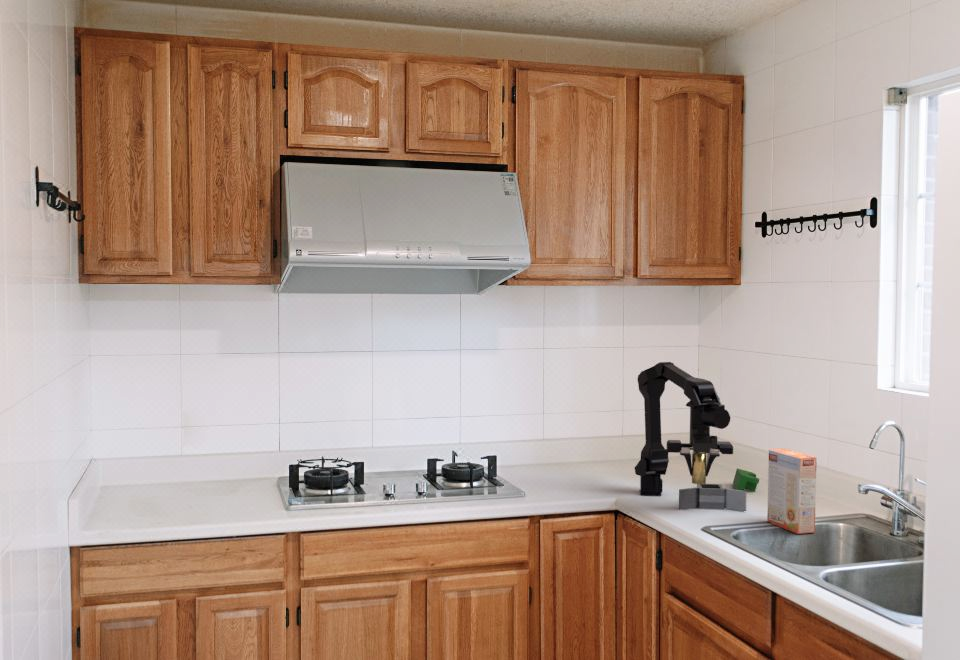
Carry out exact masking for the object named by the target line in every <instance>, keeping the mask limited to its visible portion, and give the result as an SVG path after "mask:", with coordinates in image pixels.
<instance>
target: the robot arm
mask: <svg viewBox="0 0 960 660" xmlns="http://www.w3.org/2000/svg"><path fill="white" fill-rule="evenodd" d="M669 381H670V382H671V383H673V384H675V385H676V386H677V387H679V388H681V389H682V390H683V394H684V395H685V396H686V398H688V399H689V401H688V402H687V403H686V404H685V406H686V407H688V408H689V410H690V411H689V443H686V442H684V443H683V442H682V441H681V439H668V440H667V441H666V448H665V447H664V444H662V443H663V442H662V423H661V422H662V420H661V419H662V416H661V415H662V414H661V413H662V412H661V397H662V395H663V393H664V392H665V390H666V388H665V387H666V383H667V382H669ZM637 384H638V390H639V393H640V394H641V395H642V397H643V399H644V401H643V403H644V429H645V432H644V433H645V443H644V446H643V448H642V449H641V451H640V460H639V461H638V462H637V464H636V465H635V466H634V472H635V475H636V476H639V477H640V479H639V481H640V482H639V483H640V484H639V488H640V489H639V493H640V496H653V495H656V496H658V495H660V496H659V497H661V496H662V493H663V482H664V481H663V479H662V475H663V476H665V475H666V474H667V469H668V466H669V463H670V460H669V453H673V454H674V453H677V454H679V456H683V457H684V459H685V461H686V464H687V468H688V471H689V475H690V477H692V453H691V452H690V451H692V452H695V453H699V452H702V453H706V477H708V476H709V473H710V470H711V467H712V465H713V463H714V461H715V459H716V458H718V457H721V455H734V445H733V444H732V443H731V442H730V441H718V436H717V435H710V434H711V433H710V432H711V427H713V428H716V429H719V430H724V429H727V427H729V425H730V422H731V415H730V412H729V411H728V410H727V409H725V408H726V407H725V404H722V402H721V399H720V397H719V395H718V393H717V390H716V388H715V386H714V384H713V382H711V380H708V379H704V378H699V377H694V376H693V375H691V374H689V373H688V372H686V371H685V370H683V369H682V368H680V367H678V366H676V365H675V363H673V362H672V361H663V362H662V361H660V362H658V363H656V364H654V366H651V367H648V368H647V369H644V370H642V371H640V372H639V374H638V375H637ZM720 453H721V455H720ZM656 496H655V497H656Z"/></svg>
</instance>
